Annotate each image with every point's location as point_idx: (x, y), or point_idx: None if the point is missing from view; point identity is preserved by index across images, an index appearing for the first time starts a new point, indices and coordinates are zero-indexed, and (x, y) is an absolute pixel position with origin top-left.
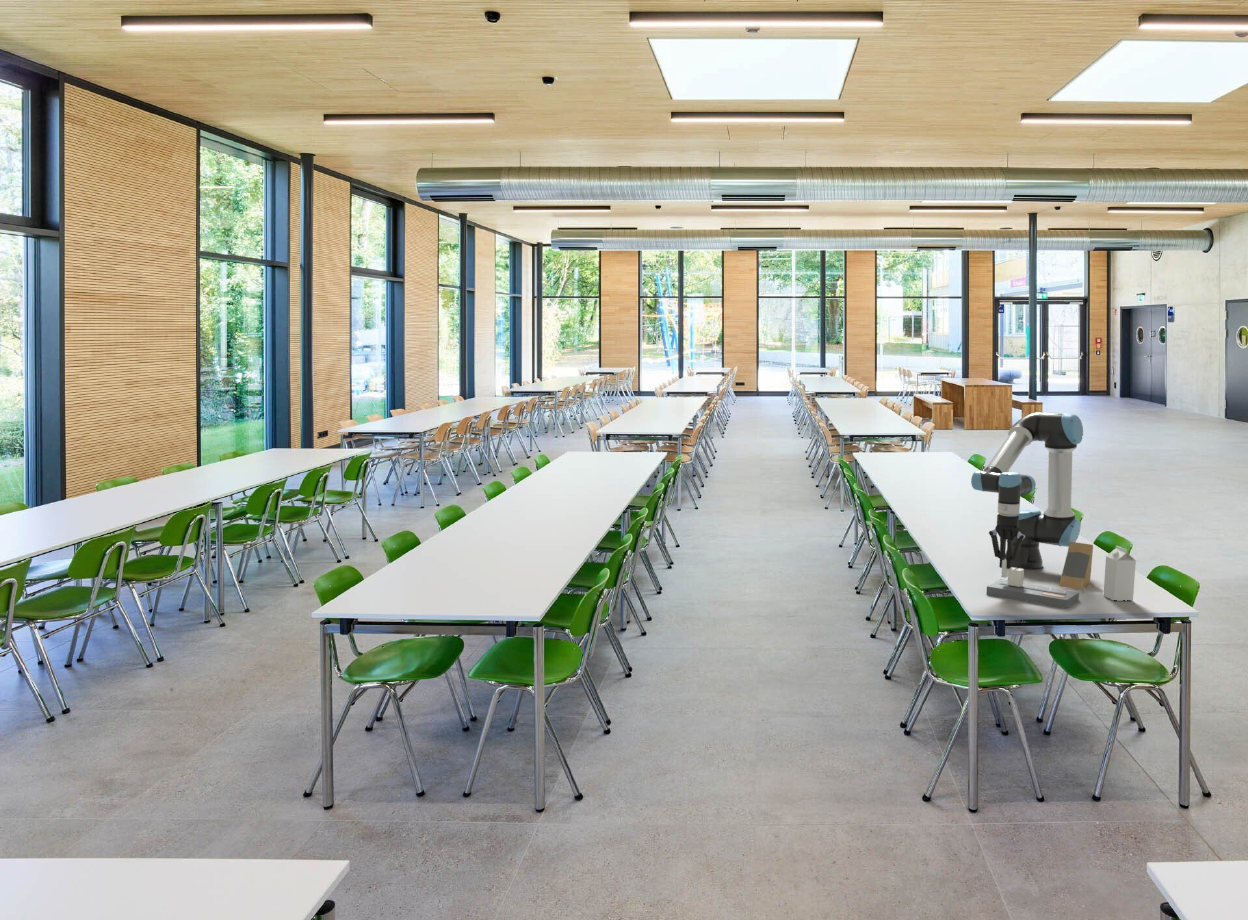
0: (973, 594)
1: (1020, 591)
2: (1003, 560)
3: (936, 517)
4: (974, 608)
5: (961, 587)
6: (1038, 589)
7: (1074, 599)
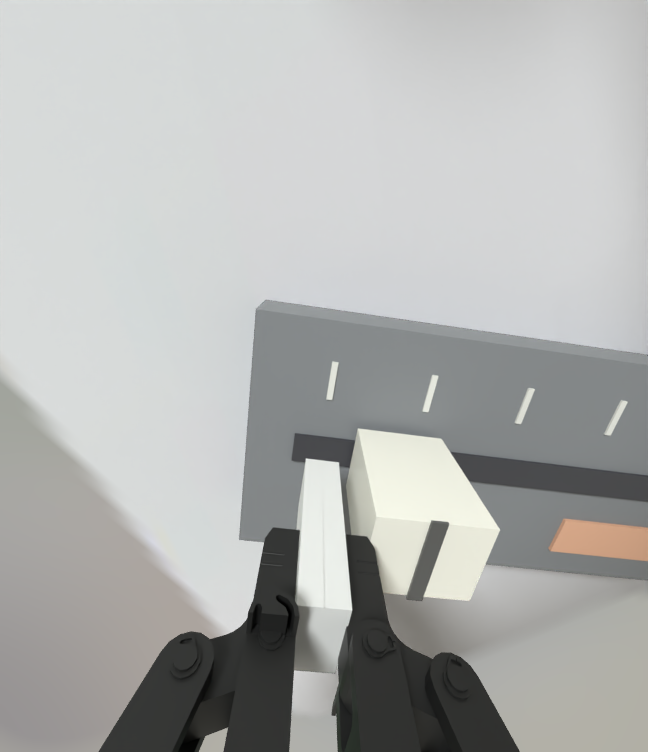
0: (198, 538)
1: None
2: (300, 665)
3: None
4: None
5: (84, 446)
6: (536, 471)
7: None
